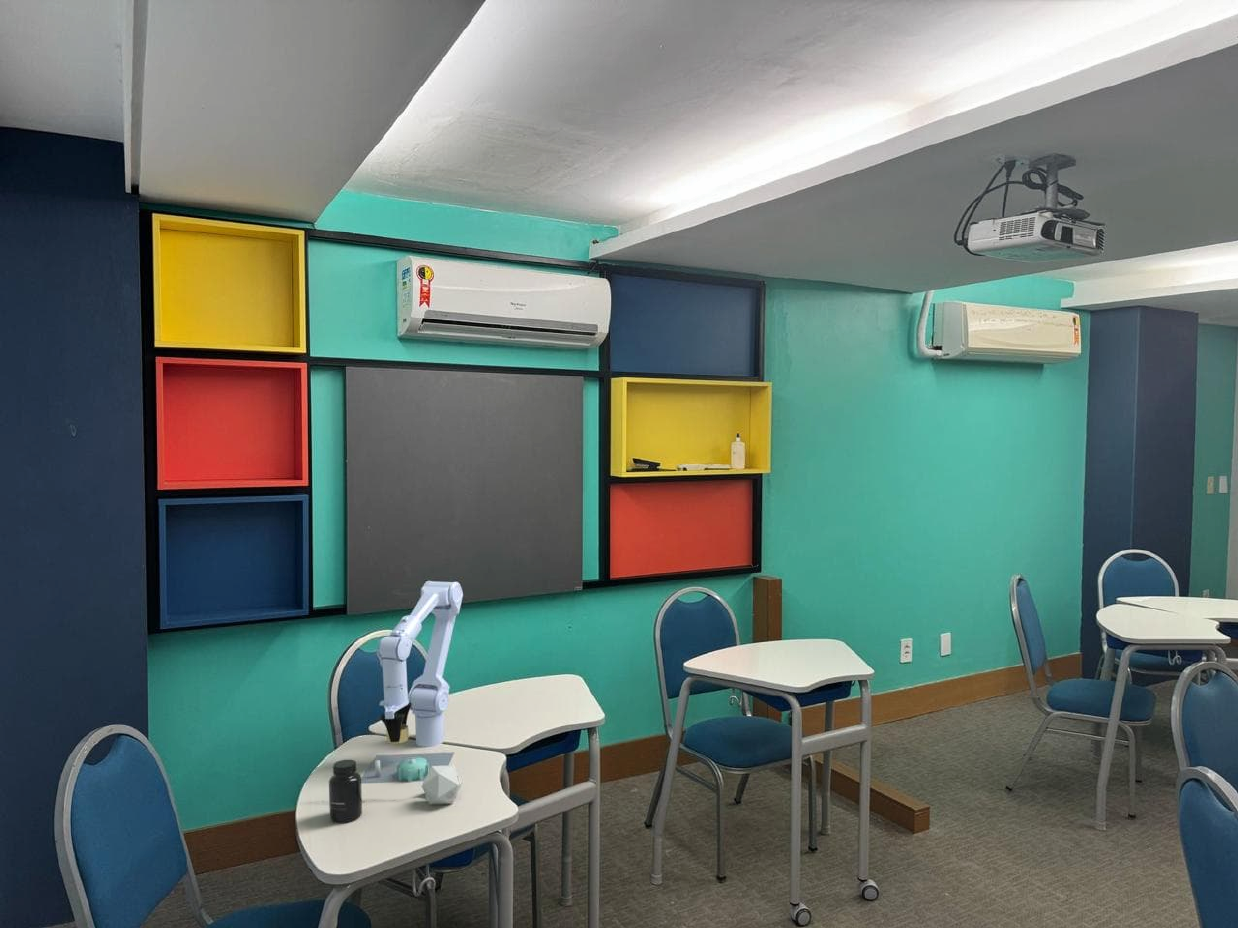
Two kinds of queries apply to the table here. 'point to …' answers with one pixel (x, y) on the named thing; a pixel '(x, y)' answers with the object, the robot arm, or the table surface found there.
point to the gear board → (395, 760)
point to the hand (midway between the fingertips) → (397, 736)
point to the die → (441, 784)
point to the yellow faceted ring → (403, 736)
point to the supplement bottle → (345, 792)
